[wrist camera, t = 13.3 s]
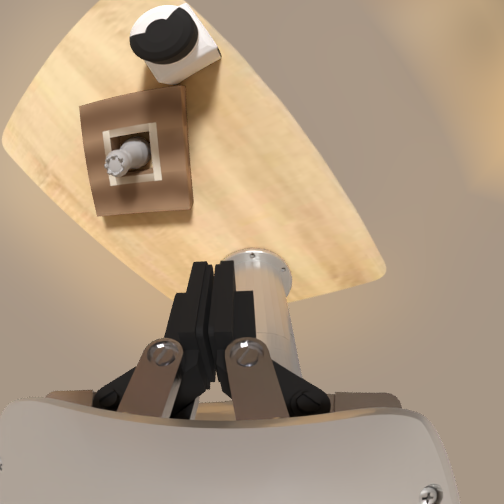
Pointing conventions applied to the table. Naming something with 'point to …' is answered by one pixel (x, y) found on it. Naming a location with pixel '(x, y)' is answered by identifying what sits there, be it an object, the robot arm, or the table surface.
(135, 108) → the board
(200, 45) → the medicine bottle
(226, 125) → the table surface
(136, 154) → the rook chess piece
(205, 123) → the table surface
